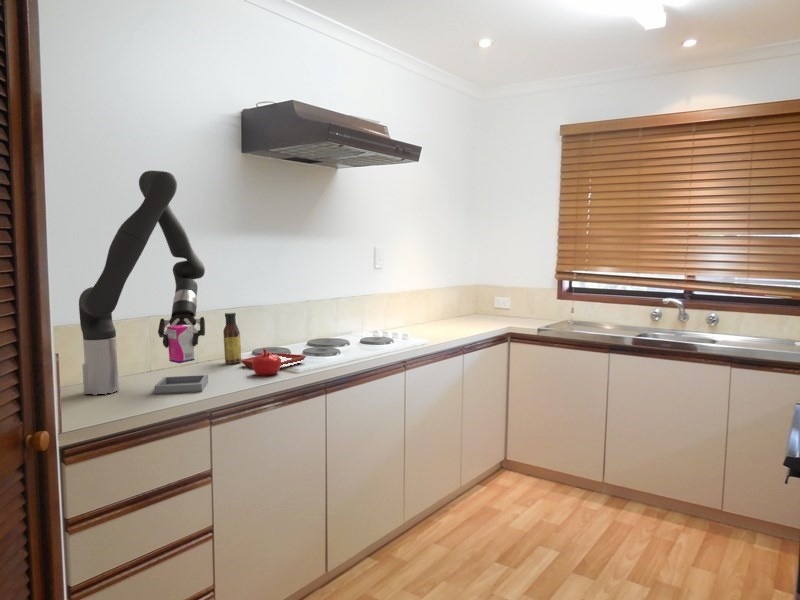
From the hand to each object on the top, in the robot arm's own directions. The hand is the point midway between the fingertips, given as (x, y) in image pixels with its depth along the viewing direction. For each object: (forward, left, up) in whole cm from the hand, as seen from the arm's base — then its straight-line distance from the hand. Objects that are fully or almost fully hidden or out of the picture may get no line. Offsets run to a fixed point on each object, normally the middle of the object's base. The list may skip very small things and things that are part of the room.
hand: (180, 345), depth 189 cm
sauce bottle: (+12, +41, -14) cm, 45 cm away
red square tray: (+28, +33, -15) cm, 46 cm away
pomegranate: (+26, +16, -14) cm, 34 cm away
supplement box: (0, +2, -5) cm, 6 cm away
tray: (0, +1, -14) cm, 14 cm away
